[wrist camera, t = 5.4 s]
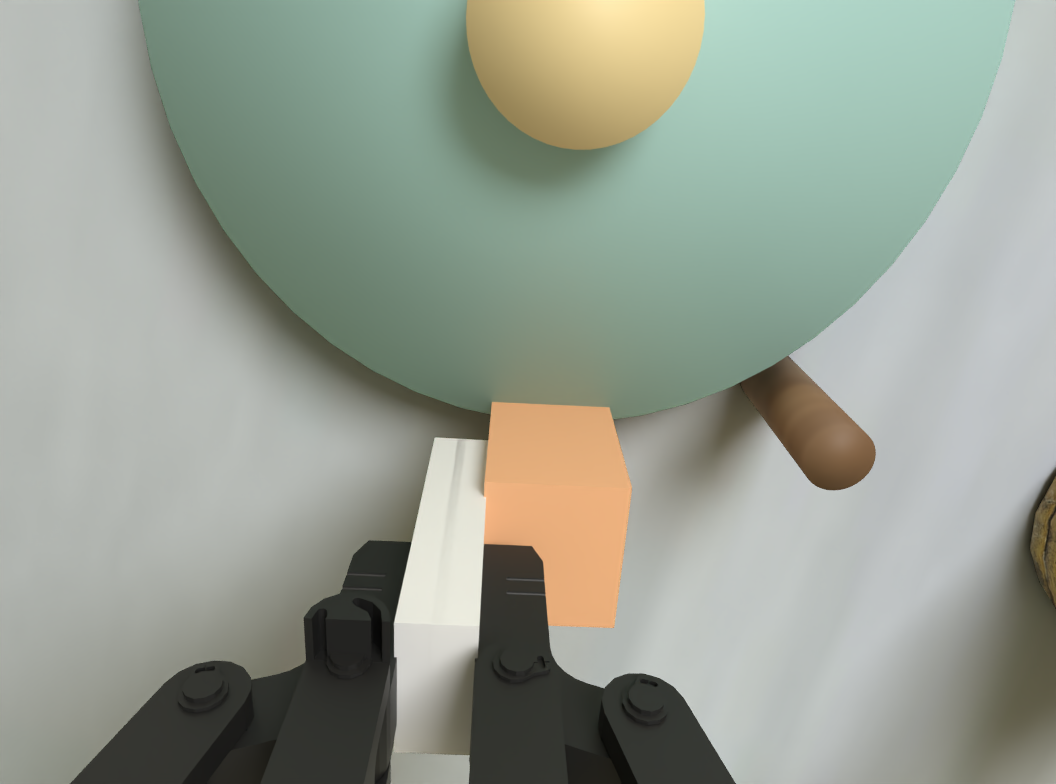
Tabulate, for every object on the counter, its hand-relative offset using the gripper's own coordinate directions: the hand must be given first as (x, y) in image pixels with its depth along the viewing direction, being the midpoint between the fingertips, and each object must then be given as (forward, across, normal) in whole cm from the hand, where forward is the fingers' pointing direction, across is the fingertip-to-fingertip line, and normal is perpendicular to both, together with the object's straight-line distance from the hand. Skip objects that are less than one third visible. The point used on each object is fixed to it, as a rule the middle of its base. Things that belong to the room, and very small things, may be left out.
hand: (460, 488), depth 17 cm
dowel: (+4, +9, +2) cm, 10 cm away
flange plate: (+2, +2, +9) cm, 9 cm away
